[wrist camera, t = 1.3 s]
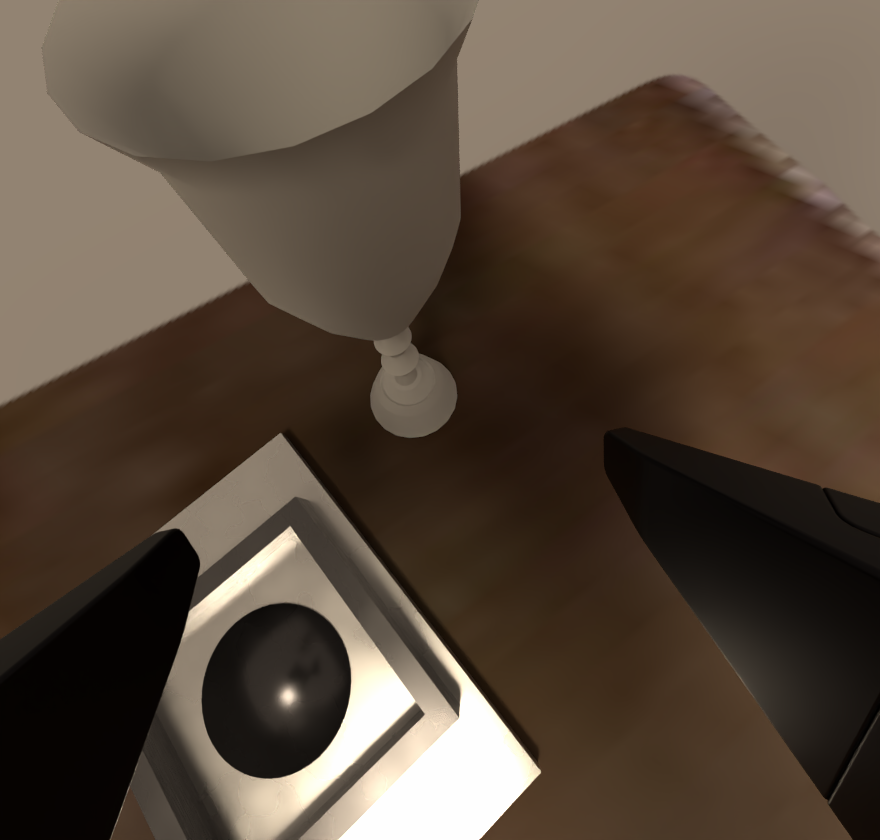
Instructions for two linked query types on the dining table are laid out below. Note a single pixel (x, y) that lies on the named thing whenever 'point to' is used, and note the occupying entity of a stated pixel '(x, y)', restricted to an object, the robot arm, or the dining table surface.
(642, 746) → the dining table surface
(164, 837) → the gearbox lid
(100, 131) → the chalice
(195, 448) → the dining table surface
